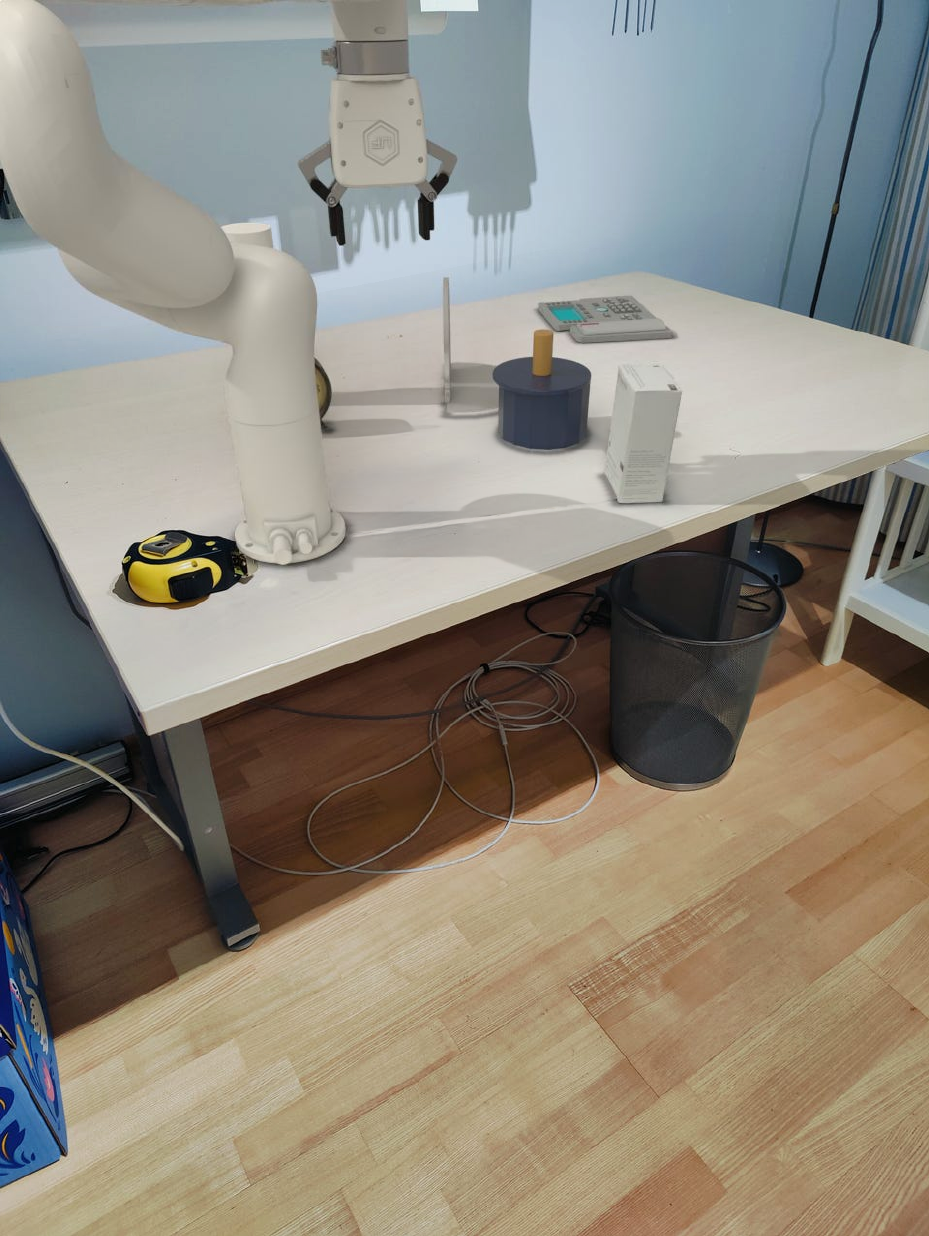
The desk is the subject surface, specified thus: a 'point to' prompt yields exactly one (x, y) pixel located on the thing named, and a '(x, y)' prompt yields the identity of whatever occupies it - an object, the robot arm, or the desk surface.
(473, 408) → the grey metal bookend
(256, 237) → the cylindrical container
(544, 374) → the tin lid
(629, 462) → the cosmetic box
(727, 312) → the desk surface
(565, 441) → the tin
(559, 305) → the office telephone
